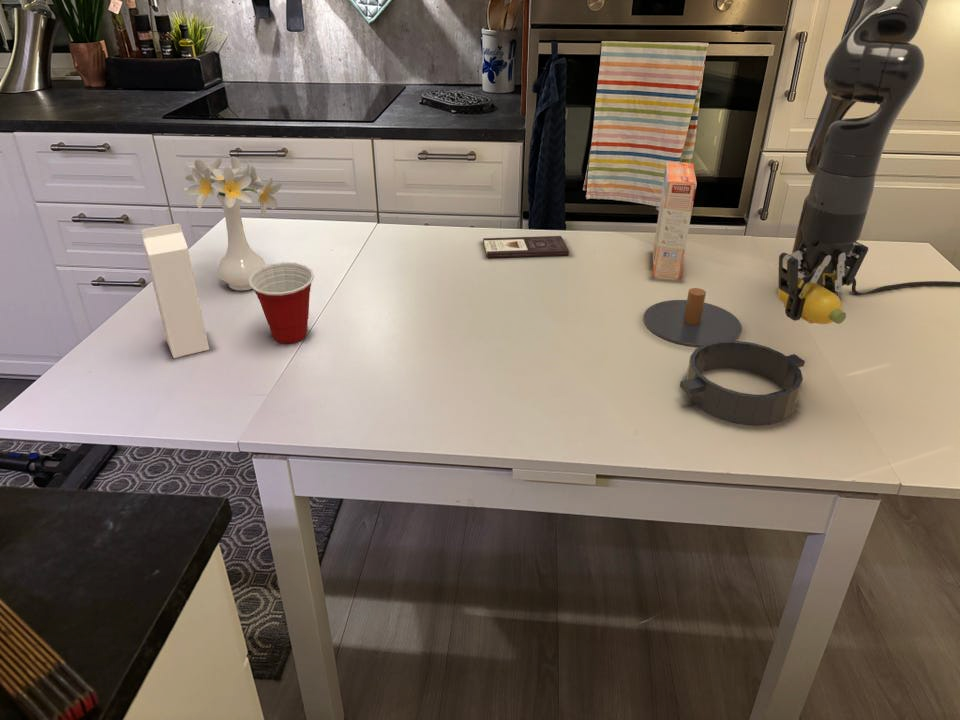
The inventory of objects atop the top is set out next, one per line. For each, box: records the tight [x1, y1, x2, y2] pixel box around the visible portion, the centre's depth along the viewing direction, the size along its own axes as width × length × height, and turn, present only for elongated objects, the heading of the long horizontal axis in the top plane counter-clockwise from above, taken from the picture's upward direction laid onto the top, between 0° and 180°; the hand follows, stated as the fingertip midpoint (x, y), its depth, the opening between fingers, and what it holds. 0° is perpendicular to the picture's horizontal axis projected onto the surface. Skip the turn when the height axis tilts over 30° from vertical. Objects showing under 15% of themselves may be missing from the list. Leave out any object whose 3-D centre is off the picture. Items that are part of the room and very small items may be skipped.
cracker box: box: [652, 161, 698, 280], centre depth 153 cm, size 14×6×21 cm, turn 168°
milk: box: [140, 223, 210, 359], centre depth 122 cm, size 6×6×22 cm
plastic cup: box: [249, 261, 315, 345], centre depth 128 cm, size 11×11×12 cm
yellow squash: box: [777, 280, 847, 325], centre depth 106 cm, size 11×5×5 cm, turn 21°
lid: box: [643, 287, 743, 348], centre depth 134 cm, size 17×17×7 cm
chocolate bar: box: [482, 235, 570, 259], centre depth 166 cm, size 9×1×18 cm
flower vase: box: [185, 156, 283, 292], centre depth 143 cm, size 13×18×25 cm
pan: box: [679, 340, 806, 426], centre depth 115 cm, size 16×22×6 cm
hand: (807, 314), depth 107 cm, fingers closed on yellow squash, 5 cm apart
